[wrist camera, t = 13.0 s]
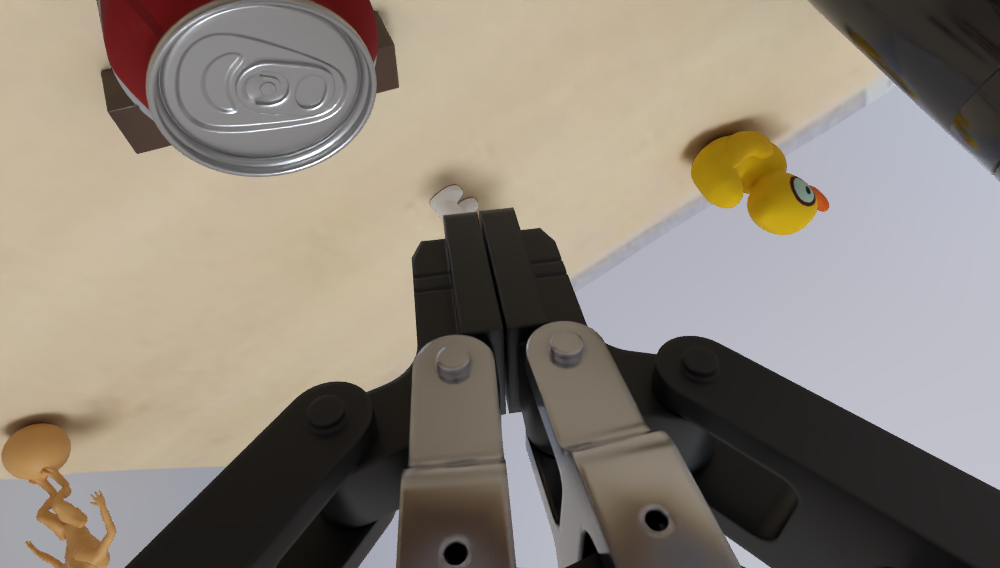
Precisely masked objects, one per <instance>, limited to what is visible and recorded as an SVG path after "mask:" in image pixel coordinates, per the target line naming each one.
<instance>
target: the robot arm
mask: <svg viewBox="0 0 1000 568" xmlns="http://www.w3.org/2000/svg"><path fill="white" fill-rule="evenodd" d="M807 1H808V2H810V3H811V4H812V5H813V6H814V7H815V8H816V9H817V10H818V11H819V12H820V13H821V14H822V15H823V16H824V17H825V18H826V19H827V20H828V21H829V22H830V23H831V24H832V25H833V26H834V27H835V28H837V29H838V30H839V31H840V32H841V33H842V34H843V35H844V36H845V37H846V38H847V39H848V40H849V41H850V42H851V43H852V44H853V45H855V46H856V47H857V48H858V49H859V50H860V51H861V52H862V53H863V54H864V55H865V56H866V57H867V58H868V59H869V60H870V61H872V62H873V63H874V64H875V65H876V66H877V67H878V68H879V69H880V70H881V71H882V72H883V73H884V74H885V75H886V76H887V77H889V78H890V79H891V80H892V81H893V82H894V83H895V84H896V85H897V86H898V87H899V88H900V89H901V90H902V91H903V92H904V93H906V94H907V95H908V96H909V97H910V98H911V99H912V100H913V101H914V102H915V103H916V104H917V105H918V106H919V107H920V108H921V109H923V110H924V111H925V112H926V113H927V114H928V115H929V116H930V117H931V118H932V119H933V120H934V121H935V122H936V123H937V124H939V125H940V126H941V127H942V128H943V129H944V130H945V131H946V132H947V133H948V134H949V135H951V136H952V137H953V138H954V139H955V140H956V141H957V142H958V143H959V144H960V145H961V146H962V147H963V148H964V149H965V150H966V151H968V152H969V153H970V154H971V155H972V156H973V157H974V158H975V159H976V160H977V161H978V162H979V163H980V164H981V165H982V166H984V167H985V168H986V169H987V170H988V171H989V172H990V173H991V174H992V175H994V176H995V177H996V178H997V179H998V180H999V181H1000V0H807ZM443 222H444V232H445V239H439V240H430V241H421V242H420V244H419V246H418V248H417V249H416V251H415V253H414V255H413V257H412V268H413V283H414V298H415V313H416V328H417V343H418V347H417V354H416V357H415V359H414V361H413V363H412V364H411V366H410V367H409V368H408V369H407V370H406V371H405V372H404V373H403V374H402V375H401V376H400V377H398V378H397V379H395V380H393V381H392V382H389V383H387V384H385V385H383V386H381V387H378V388H376V389H373V390H371V391H368V392H365V391H364V390H363V389H362V388H360V387H358V386H357V385H354V384H351V383H347V382H328V383H323V384H320V385H317V386H314V387H312V388H310V389H308V390H307V391H305V392H304V393H302V394H301V395H299V396H298V397H297V398H296V399H295V400H294V401H293V402H292V403H291V404H290V405H289V406H288V407H287V408H286V409H285V410H284V411H283V412H282V413H281V414H280V415H279V416H278V417H277V418H276V419H275V420H274V421H273V422H272V423H271V424H270V425H269V426H268V427H267V428H265V429H264V430H263V431H262V432H261V433H260V434H259V435H258V436H257V437H256V438H255V439H254V440H253V441H252V442H251V443H250V444H249V445H248V446H247V447H246V448H245V449H244V450H243V451H242V452H241V453H240V454H239V455H238V456H237V457H236V458H235V459H234V460H233V461H232V462H231V463H230V464H229V465H228V466H227V467H226V468H225V469H224V470H223V471H222V472H221V473H220V474H219V475H218V476H217V477H216V478H215V479H214V480H213V481H212V482H211V483H210V484H209V485H208V486H207V487H206V488H205V489H204V490H203V491H202V492H201V493H200V494H199V495H198V496H197V497H196V498H195V499H194V500H193V501H192V502H191V503H190V504H189V505H188V506H187V507H186V508H185V509H184V510H183V511H182V512H181V513H179V514H178V516H176V518H174V519H173V520H172V521H171V523H169V524H168V525H167V526H166V527H165V528H164V529H163V530H162V531H161V532H160V533H159V534H158V535H157V536H156V537H155V538H154V539H153V540H152V541H151V542H150V543H149V544H148V545H147V546H146V547H145V548H144V549H143V550H142V551H141V552H140V553H139V554H138V555H137V556H136V557H135V558H134V559H133V560H132V561H131V562H130V563H129V564H128V565H127V566H126V567H125V568H358V567H359V565H360V564H361V562H362V561H363V560H364V558H365V557H366V556H367V554H368V553H369V551H370V550H371V549H372V547H373V546H374V545H375V543H376V542H377V540H378V539H379V538H380V536H381V535H382V534H383V532H384V531H385V529H386V528H387V526H388V525H389V524H390V522H391V521H392V519H393V517H394V515H395V512H396V510H398V509H399V524H398V525H399V526H398V543H397V560H396V568H516V560H515V550H514V540H513V530H512V520H511V509H510V499H509V489H508V479H507V469H506V462H505V459H504V453H503V442H502V428H501V415H503V414H506V402H505V395H506V400H507V405H508V410H509V413H515V412H522V414H523V418H524V423H525V427H526V449H527V452H528V456H529V459H530V462H531V465H532V469H533V472H534V475H535V478H536V482H537V485H538V488H539V491H540V494H541V497H542V501H543V504H544V507H545V511H546V514H547V517H548V520H549V523H550V526H551V530H552V533H553V537H554V541H555V546H556V552H557V560H558V566H559V568H745V567H743V566H741V565H740V564H739V562H738V560H737V558H736V556H735V554H734V553H733V551H732V549H731V547H730V545H729V543H728V541H727V540H726V538H725V536H724V535H726V536H727V537H729V538H730V539H731V540H733V541H734V542H736V543H737V544H738V545H740V546H742V547H743V548H744V549H746V550H747V551H748V552H750V553H751V554H753V555H754V556H755V557H757V558H758V559H760V560H761V561H763V562H764V563H765V564H767V565H768V566H770V567H771V568H1000V490H998V489H996V488H994V487H992V486H990V485H988V484H986V483H985V482H983V481H981V480H979V479H977V478H975V477H973V476H971V475H969V474H967V473H965V472H963V471H962V470H959V469H958V468H956V467H954V466H952V465H950V464H948V463H946V462H944V461H943V460H941V459H939V458H937V457H935V456H933V455H931V454H929V453H927V452H925V451H924V450H921V449H920V448H918V447H916V446H914V445H912V444H910V443H908V442H906V441H904V440H902V439H901V438H899V437H897V436H895V435H893V434H891V433H889V432H887V431H885V430H883V429H881V428H880V427H878V426H876V425H874V424H872V423H870V422H868V421H866V420H864V419H863V418H861V417H859V416H857V415H855V414H853V413H851V412H849V411H847V410H845V409H843V408H842V407H839V406H838V405H836V404H834V403H832V402H830V401H828V400H826V399H824V398H822V397H821V396H819V395H817V394H815V393H813V392H811V391H809V390H807V389H805V388H803V387H801V386H800V385H798V384H796V383H794V382H792V381H790V380H788V379H786V378H784V377H782V376H780V375H779V374H777V373H775V372H773V371H771V370H769V369H767V368H765V367H763V366H761V365H759V364H758V363H756V362H754V361H752V360H750V359H748V358H746V357H744V356H742V355H740V354H739V353H737V352H735V351H733V350H731V349H729V348H727V347H725V346H723V345H721V344H719V343H717V342H715V341H713V340H710V339H707V338H703V337H698V336H683V337H677V338H674V339H671V340H669V341H668V342H666V343H665V344H664V345H663V346H662V347H661V348H660V349H659V351H658V353H657V354H650V353H642V352H634V351H627V350H622V349H618V348H615V347H613V346H610V345H608V344H606V343H605V342H604V340H603V339H602V337H601V336H600V335H599V334H598V333H597V332H595V331H594V330H593V329H591V328H590V327H588V326H587V324H586V322H585V319H584V316H583V314H582V311H581V309H580V306H579V303H578V301H577V298H576V295H575V293H574V290H573V287H572V285H571V282H570V279H569V277H568V275H567V273H566V269H565V266H564V264H563V261H562V260H561V256H560V253H559V250H558V248H557V245H556V243H555V241H554V240H553V239H552V238H551V237H549V236H548V235H547V234H546V233H545V232H544V231H543V230H542V229H540V228H536V229H527V230H520V227H519V224H518V220H517V217H516V214H515V211H514V209H513V208H504V209H495V210H485V211H479V218H478V214H477V212H468V213H459V214H450V215H443Z"/></svg>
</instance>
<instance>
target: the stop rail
mask: <svg viewBox="0 0 1000 568" xmlns="http://www.w3.org/2000/svg"><path fill="white" fill-rule="evenodd" d="M374 15H375V19H376V24H377V30H378V53H377V59H376V64H375V73H376V82H377V87H376V93H379V92H383V91H387V90H391V89H395V88H399V82H398V73H397V64H396V55H395V46H394V43H393V41H392V39H391V37H390V35H389V34H388V32H387V30H386V28H385V26H384V24H383V22H382V20H381V18H380V16H379V14H378V13H377V12H374ZM101 76H102V82H103V88H104V94H105V99H106V105H107V111H108V113H109V114H110V116H111V117H112V119H113V120H114V122H115V123H116V125H117V126H118V127H119V129H120V130H121V132H122V133H123V135H124V136H125V138H126V139H127V141H128V142H129V143H130V145H131V146H132V148H133V149H134V151H135V152H136V153H137V154H139V153H143V152H147V151H151V150H155V149H159V148H163V147H167V146H171V144H170V143H169V142H168V140H167V139H166V138H165V137H164V136H163V135H162V133H161V132H160V130H159V129H158V127H157V125H156V123H155V121H153V120H152V119H151V118H150V117H148V116H147V115H146V114H145V113H144V112H142V111H141V110H140V109H139V108H138V107H137V106H136V105H135V104H134V102H133V101H132V100H131V99H130V98H129V97H128V95H127V94H126V93H125V91H124V90H123V88H122V87H121V85H120V84H119V82H118V80H117V78H116V76H115V74H114V72H113V70H112V69H110V70H106V71H102V72H101Z"/></svg>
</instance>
